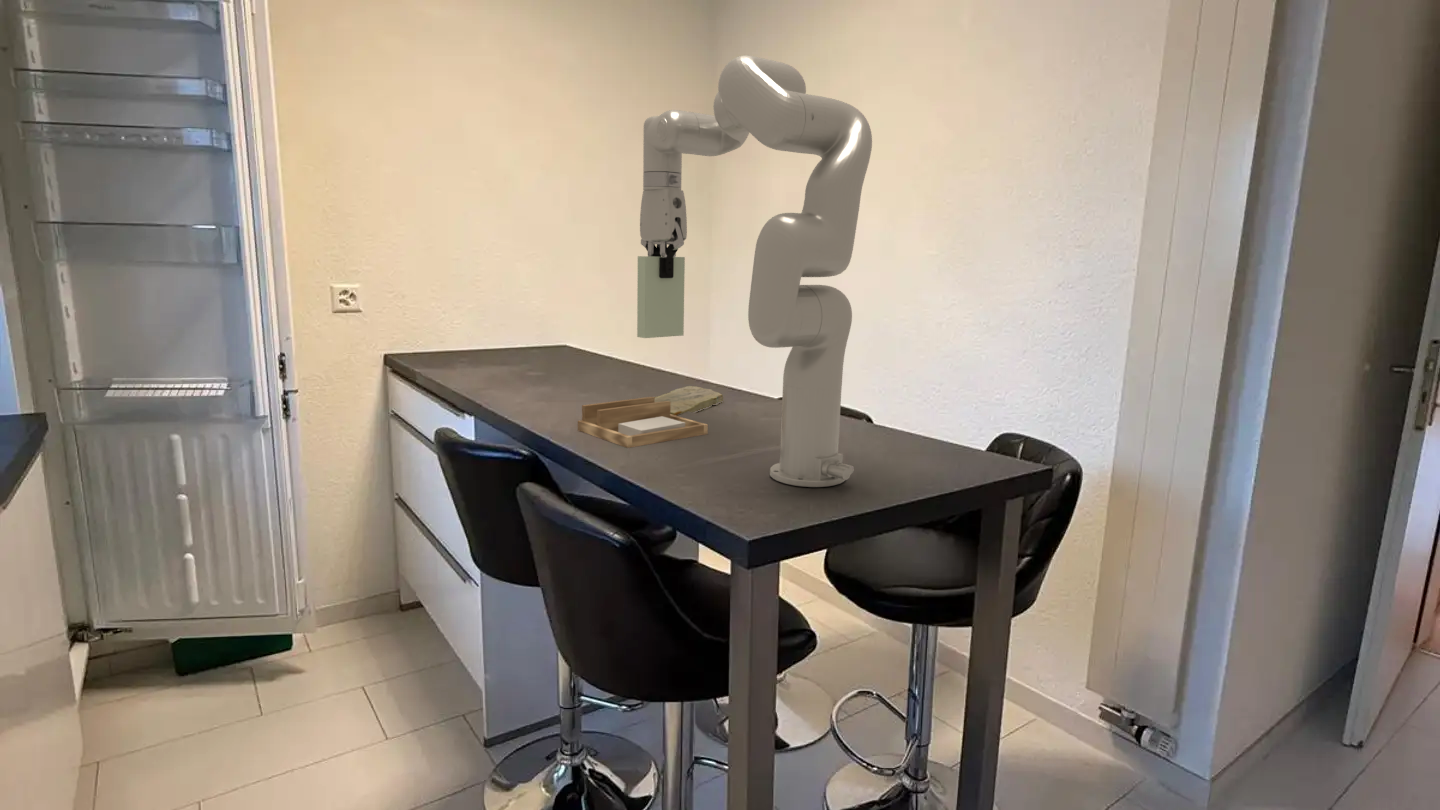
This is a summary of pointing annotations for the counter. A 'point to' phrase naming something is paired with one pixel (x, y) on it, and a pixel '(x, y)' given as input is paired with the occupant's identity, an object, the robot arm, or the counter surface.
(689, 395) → the stone slab
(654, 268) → the pale green slab
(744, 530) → the counter surface
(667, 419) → the upper offcut
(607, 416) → the tray
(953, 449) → the counter surface
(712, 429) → the counter surface
